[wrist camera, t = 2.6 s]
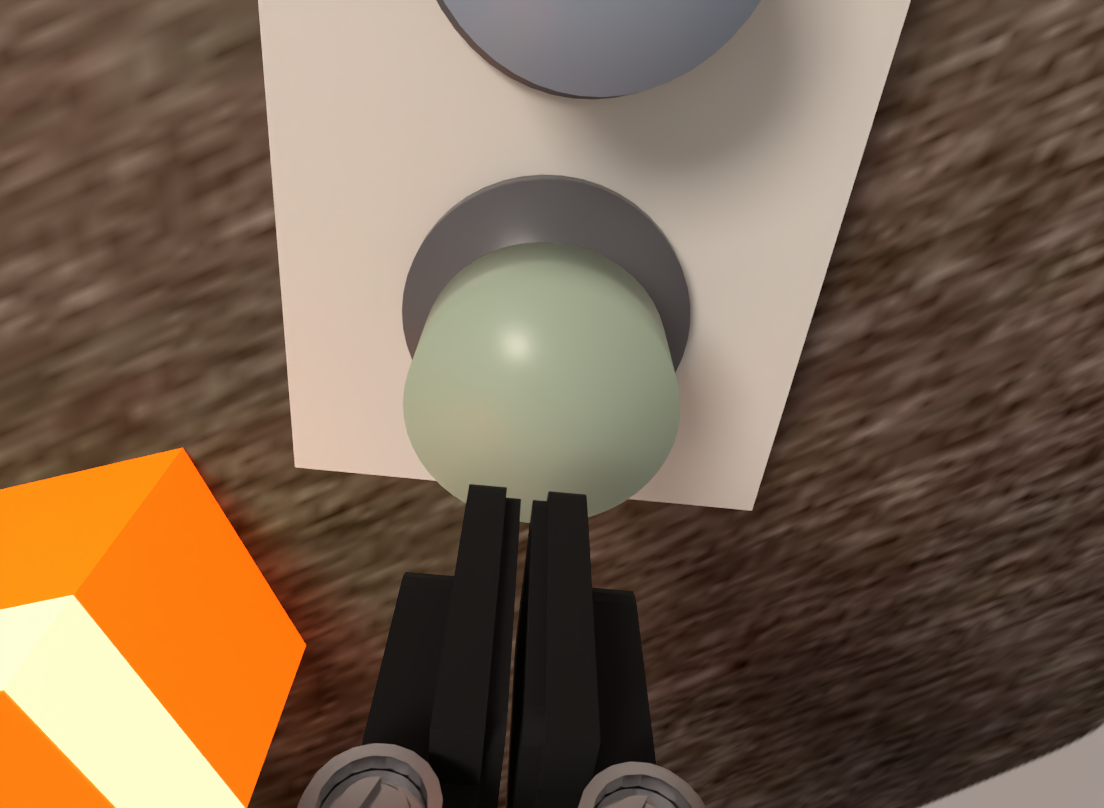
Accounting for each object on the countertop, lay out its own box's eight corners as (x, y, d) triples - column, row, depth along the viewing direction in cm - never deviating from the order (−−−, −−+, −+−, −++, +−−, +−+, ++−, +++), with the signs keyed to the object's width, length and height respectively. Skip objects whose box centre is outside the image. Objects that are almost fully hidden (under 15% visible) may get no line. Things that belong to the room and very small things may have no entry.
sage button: (689, 256, 15) (707, 304, 13) (644, 468, 17) (654, 534, 15) (425, 227, 14) (404, 272, 13) (419, 447, 17) (401, 511, 15)
